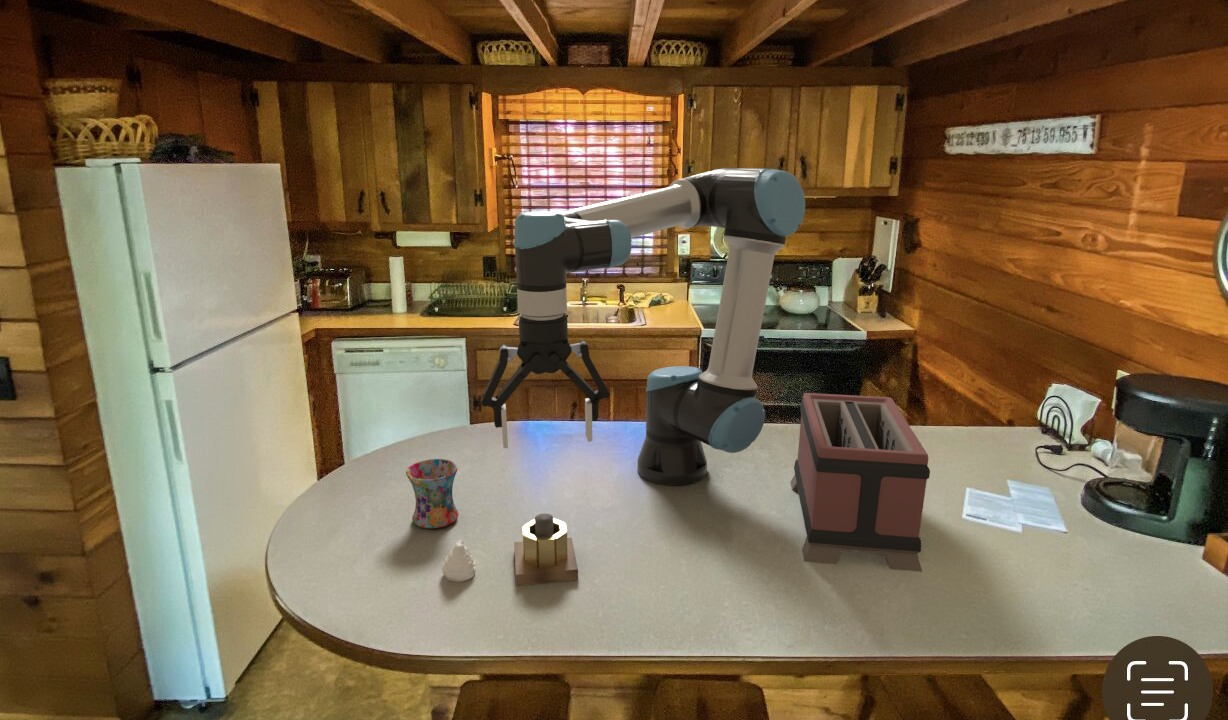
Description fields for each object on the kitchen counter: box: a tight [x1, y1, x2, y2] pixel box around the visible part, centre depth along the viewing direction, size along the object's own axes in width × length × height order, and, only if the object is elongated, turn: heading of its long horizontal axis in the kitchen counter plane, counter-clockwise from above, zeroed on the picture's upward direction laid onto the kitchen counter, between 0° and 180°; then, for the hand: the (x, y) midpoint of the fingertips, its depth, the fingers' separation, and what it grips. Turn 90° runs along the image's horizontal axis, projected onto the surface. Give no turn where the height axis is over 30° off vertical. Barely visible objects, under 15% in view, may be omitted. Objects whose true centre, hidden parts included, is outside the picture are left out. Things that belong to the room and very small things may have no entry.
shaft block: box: [513, 513, 579, 586], centre depth 120 cm, size 10×10×9 cm
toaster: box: [790, 392, 931, 573], centre depth 135 cm, size 19×34×21 cm, turn 171°
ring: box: [522, 517, 568, 568], centre depth 120 cm, size 7×7×5 cm
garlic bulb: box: [441, 539, 477, 583], centre depth 118 cm, size 6×6×5 cm
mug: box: [405, 458, 459, 529], centre depth 136 cm, size 12×9×11 cm
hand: (547, 441), depth 117 cm, fingers open, 13 cm apart
